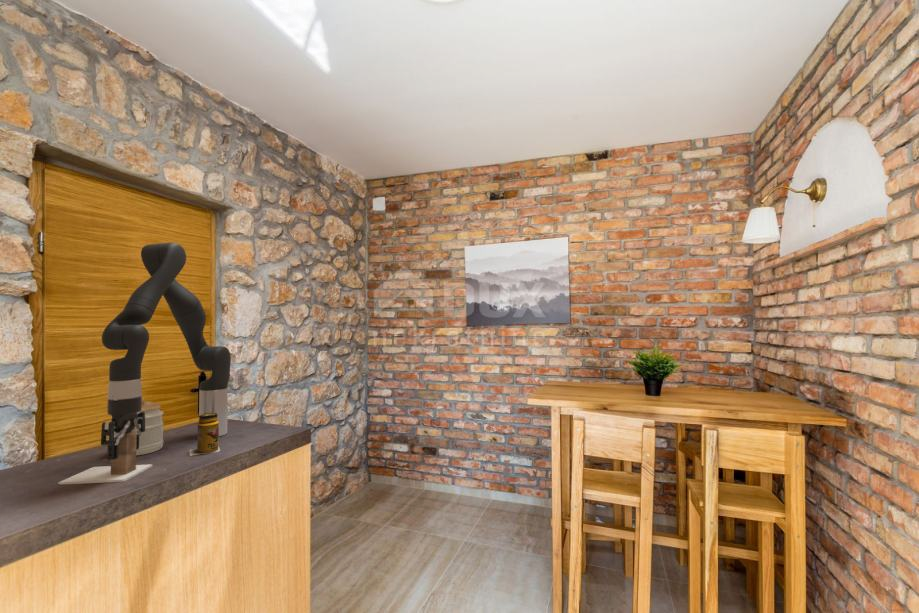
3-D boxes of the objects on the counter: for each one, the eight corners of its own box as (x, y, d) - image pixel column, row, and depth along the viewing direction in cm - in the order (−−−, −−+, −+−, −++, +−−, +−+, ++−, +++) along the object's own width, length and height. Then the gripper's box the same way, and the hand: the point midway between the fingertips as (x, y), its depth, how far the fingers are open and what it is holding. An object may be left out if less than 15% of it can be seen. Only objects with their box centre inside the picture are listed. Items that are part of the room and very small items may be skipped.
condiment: (220, 451, 138) (220, 414, 139) (189, 456, 134) (190, 418, 134) (218, 446, 144) (219, 411, 145) (189, 450, 140) (189, 414, 140)
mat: (93, 468, 123) (93, 466, 123) (152, 466, 124) (152, 464, 124) (58, 484, 111) (58, 482, 111) (123, 481, 112) (124, 479, 112)
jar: (103, 455, 135) (104, 400, 136) (144, 444, 148) (145, 393, 148) (133, 458, 132) (134, 401, 132) (172, 446, 144) (173, 394, 145)
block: (121, 469, 120) (121, 430, 120) (136, 469, 120) (136, 430, 120) (110, 475, 116) (111, 434, 116) (126, 474, 116) (126, 433, 116)
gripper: (128, 392, 125) (127, 447, 125) (91, 401, 111) (89, 463, 111) (154, 391, 126) (154, 446, 126) (121, 400, 112) (120, 462, 111)
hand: (124, 454), depth 118 cm, fingers open, 8 cm apart
